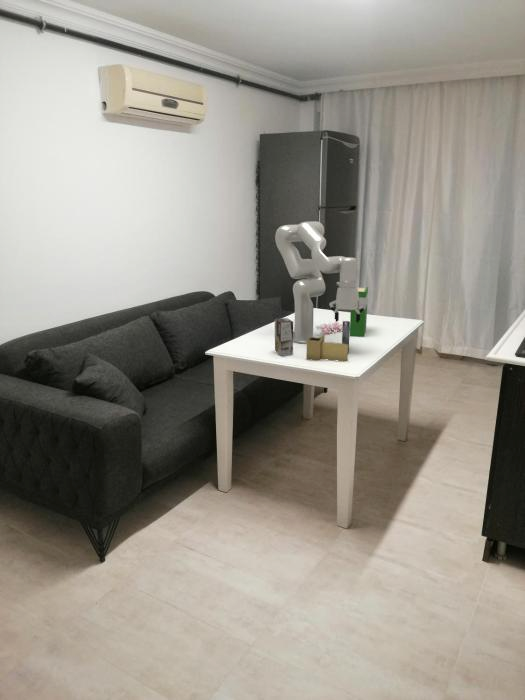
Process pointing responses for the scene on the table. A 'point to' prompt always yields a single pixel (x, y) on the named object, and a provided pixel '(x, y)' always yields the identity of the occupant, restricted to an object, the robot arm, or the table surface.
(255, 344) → the table surface
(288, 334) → the coffee box
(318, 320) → the table surface
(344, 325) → the pin
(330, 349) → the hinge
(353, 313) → the hardback book
